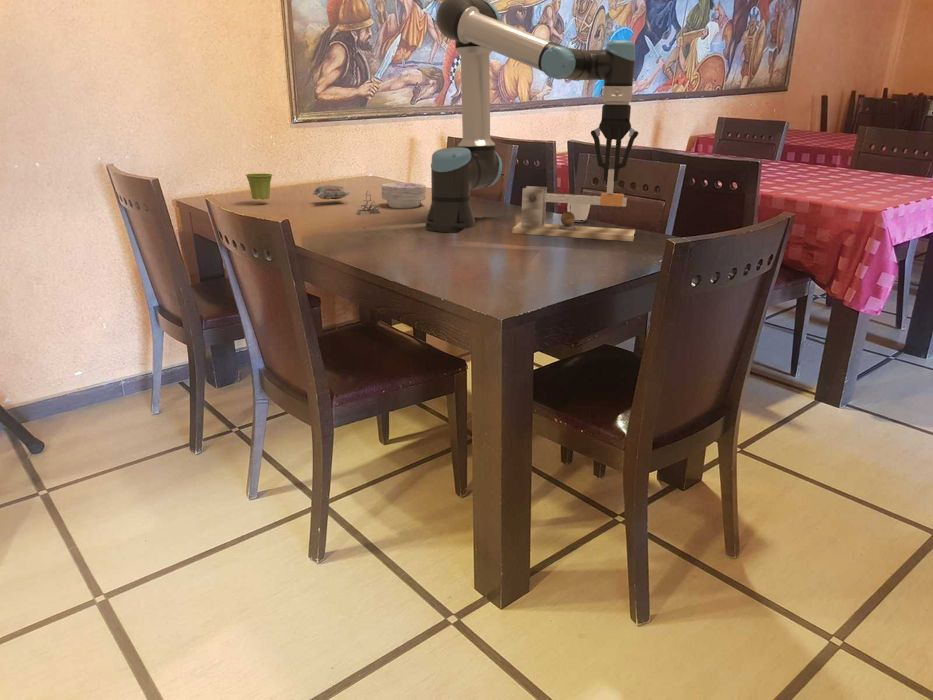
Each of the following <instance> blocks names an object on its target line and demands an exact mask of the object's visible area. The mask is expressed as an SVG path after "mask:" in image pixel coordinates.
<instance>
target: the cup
mask: <svg viewBox="0 0 933 700" xmlns="http://www.w3.org/2000/svg"><path fill="white" fill-rule="evenodd" d="M591 206H592V205H591V204H575V203H567V209H566V210H567V212H571V213H573V214H574V217H575V220H583V221H586V220H587V219H588V217H589V212H590V208H591Z"/></svg>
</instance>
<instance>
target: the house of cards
mask: <svg viewBox="0 0 933 700" xmlns="http://www.w3.org/2000/svg"><path fill="white" fill-rule="evenodd" d="M368 193H369V194H368ZM368 196H369V200H367V197H368ZM371 197H372V195H371V193H370V191H369V190H366V193H365V199H364V200H362V201H361V203H360V204H359V206H358V207H357V209H356V211H357V214H358V215H362V216H363V215H374V214H381V209H380V208H379V207H378V205H377V204H376V202H375V201H374V199H373V200H372V199H371ZM365 202H366V203H365ZM369 202H371V203H369ZM373 203H374V204H373Z"/></svg>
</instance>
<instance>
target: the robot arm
mask: <svg viewBox="0 0 933 700" xmlns="http://www.w3.org/2000/svg"><path fill="white" fill-rule="evenodd" d="M436 10H437V11H436V16H435V17H436V18H435V20H436V25H437V28H438V30H439V31H440V33H441V34H442V35H443V36H444V37H445V38H447V39H449V40H452V41H455V42H454V45H455V46H454V47H455V49H454V50H455V51H456V52H457V53H458V54H459V56H460V80H461V81H460V82H461V83H460V84H461V86H460V87H461V122H462V126H461V127H462V128H461V129H462V140H461V141H460V142H459V143H458V145H457V147H445V148H440V149H438V150H435V151H434V152H433V153H432V156H431V164H430V168H431V169H430V170H431V172H430V173H431V177H430V178H431V203H430V206H429V209H428V213H427V216H426V220H425V228H426V229H427V230H429V231H433V232H439V233H440V232H441V233H460V232H461V231H464V230H465V229H468V228H470V229H471V228H473V227H475V226H476V220H475V217H474V212H473V209H472V206H471V201H470V200H471V191H472V190H473V191H474V190H484V189H486V188H488V187H491V186H494V185H495V184H496V183H497V182H498V180H500V177H501V175H502V171H503V162H502V158H501V157H500V156H499V154H498V153H497V152H496V143H495V142H494V141H493V140H492V139H491V97H490V96H491V91H490V90H491V88H490V87H491V86H490V85H491V83H490V80H491V79H490V75H491V74H490V55H491V53H492V52H495V53H497V54H500V55H502V56H504V57H506V58H509V59H510V60H511V59H512V60H513V61H516V62H519V63H521V64H523V65H526V66H529V67H531V68H534V69H537V70H538V71H541V72H542V73H544V75H546V77H549V78H551V79H555V80H567V81H576V82H578V81H579V82H580V81H596V80H597V81H603V91H602V92H603V95H602V96H603V97H602V102H603V103H604V104H602V106H601V108H602V109H601V120H600V123H599V125H598V127H597V128H595V129H593V130H591V131H590V135H591V137H592V139H593V141H594V142H593V143H594V149H595V156H596V160H597V166H598V167H600V168H602V169H603V170H604V171H603V181H604V182H607V184H606V193H607V194H613V193H614V188H615V187H614V186H615V185H614V184H615V182H618V180H619V174H620V169H623V168H625V167H626V166H627V163H628V160H629V158H630V154H631V151H632V148H633V145H634V142H635V139H636V138H637V137H638V136H639V131H638V130H635V129H634V128H633V127H632V124H631V122H630V121H631V111H632V110H631V109H632V106H631V104H630V103H631V102H632V98H633V87H634V74H635V66H636V65H635V64H636V43H635V42H634V41H632V40H624V39H623V40H621V39H619V40H617V39H616V40H609V41H608V42H607V43H606V47H605V48H604V49H579V48H573V47H572V48H571V47H568V46H564V45H562V44H559V43H556V42H553V40H552V41H551V40H548V39H546V38H544V37H541V36H538V35H535V34H534V33H531V32H528V31H526V30H523V29H521V28H519V27H515V26H513V25H511V24H508V23H506V22H503V21H502V19H501V15H500V12H499V11H498V9H497V8H496V6H495V5H493V4H492V3H490V2H489V1H487V0H443V1H441V3H440V4H439V5H438V8H437V9H436ZM601 133H602V135H603V137H604V139H605V141H606V143H605V156H604V159H603V154H602V147H601V142H600V140H601V139H600V135H601ZM628 133H629V134H628ZM627 134H628V136H629V139H628V142H627V146H626V148H625V151H624V155H623V158H622V161H621V150H622V139H624V138H625V137H626V135H627ZM614 140H615V151H614V152H615V154H614V165H613V168H610V165H611V155H612V142H613V141H614ZM620 161H621V162H620Z"/></svg>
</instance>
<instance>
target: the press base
mask: <svg viewBox="0 0 933 700" xmlns="http://www.w3.org/2000/svg"><path fill="white" fill-rule="evenodd" d="M547 191H548V187H547V186H531V185H530V186H529V185H527V186H525V188H524V187H523V188H522V195H521V196H522V197H521V216H520V217H521V219H520V222H518V223H516V225H514V226H513V227H512V234H519V235H532V236H534V235H535V236H549V237H563V238H565V237H566V238H578V239H580V238H581V239H590V240H591V239H592V240H593V239H594V240H605V241H606V240H608V241H622V242H634V239H635V236H634V234H636V229H630V228H629V229H628V228H614V227H612V228H611V227H598V226H597V227H595V226H583V225H581V226H580V225H575V223H574V220H575V217H574V214H573V213H571V211H570V212H568V211H565V212H563V213H562V214H561V216H560V221H561V223H560V224H554V223H553V224H551V223H546V213H547V202H543V200H544V193H548V192H547Z"/></svg>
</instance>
